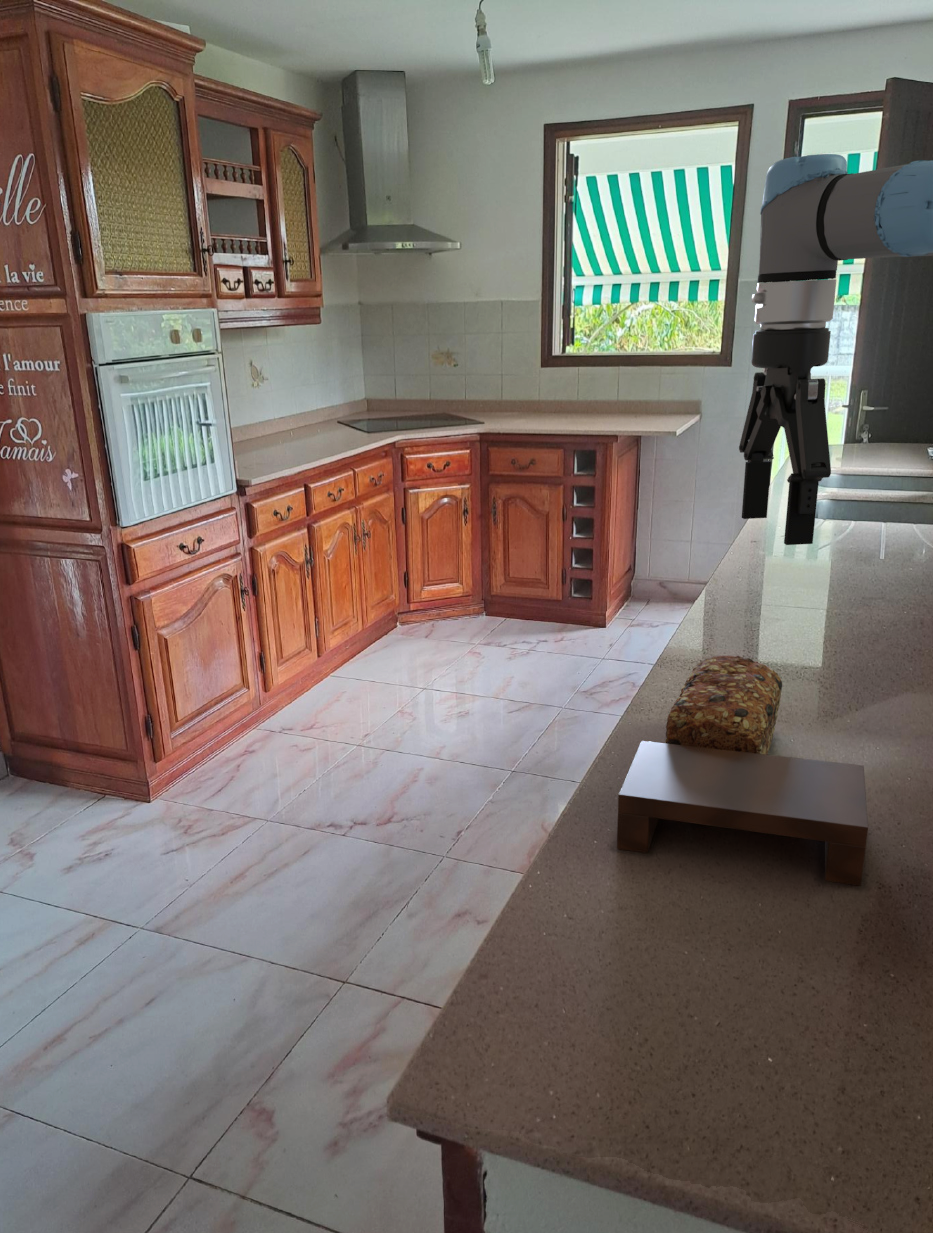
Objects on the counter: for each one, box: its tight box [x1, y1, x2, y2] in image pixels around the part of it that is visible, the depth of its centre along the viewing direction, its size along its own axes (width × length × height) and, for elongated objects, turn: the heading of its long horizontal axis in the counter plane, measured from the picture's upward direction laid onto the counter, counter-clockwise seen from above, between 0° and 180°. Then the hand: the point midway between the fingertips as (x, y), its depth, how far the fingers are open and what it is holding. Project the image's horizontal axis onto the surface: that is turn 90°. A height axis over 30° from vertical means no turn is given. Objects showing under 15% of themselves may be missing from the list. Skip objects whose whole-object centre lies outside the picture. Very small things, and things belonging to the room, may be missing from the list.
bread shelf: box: [616, 740, 869, 887], centre depth 95 cm, size 22×13×6 cm, turn 69°
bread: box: [665, 655, 783, 755], centre depth 111 cm, size 19×11×10 cm, turn 154°
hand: (774, 530), depth 106 cm, fingers open, 13 cm apart
